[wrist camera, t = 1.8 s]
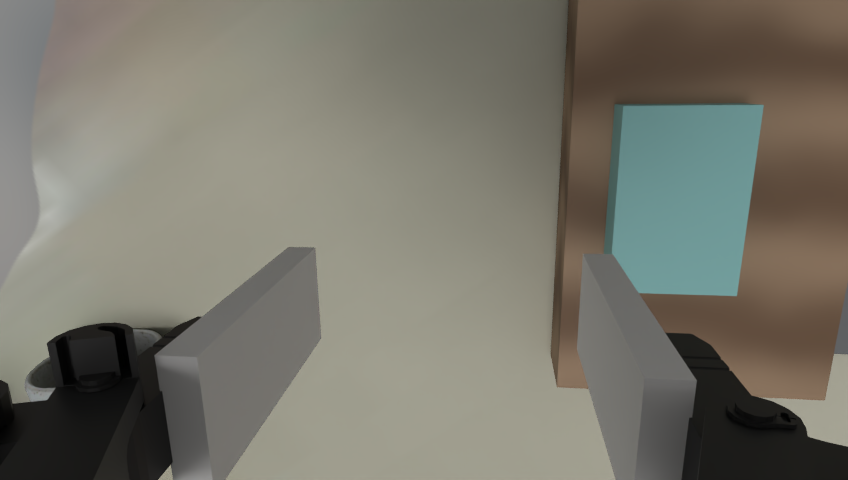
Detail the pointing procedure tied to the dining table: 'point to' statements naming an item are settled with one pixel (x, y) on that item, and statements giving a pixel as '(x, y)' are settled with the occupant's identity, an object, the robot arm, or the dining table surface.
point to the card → (681, 194)
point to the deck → (772, 184)
